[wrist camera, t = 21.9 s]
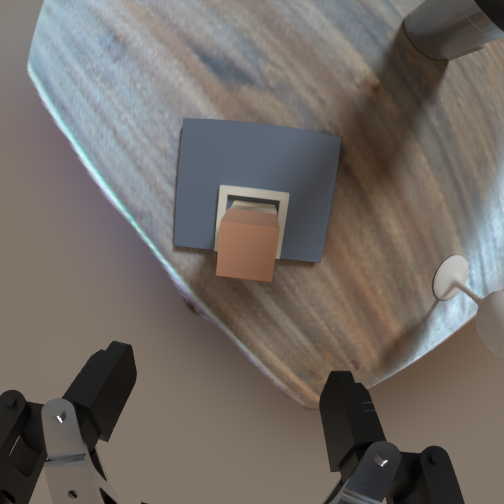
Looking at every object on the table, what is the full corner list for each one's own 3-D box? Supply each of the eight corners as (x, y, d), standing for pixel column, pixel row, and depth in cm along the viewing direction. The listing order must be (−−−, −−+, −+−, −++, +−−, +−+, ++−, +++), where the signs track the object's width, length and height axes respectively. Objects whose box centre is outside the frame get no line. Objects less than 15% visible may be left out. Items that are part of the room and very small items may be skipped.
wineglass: (434, 307, 40) (498, 381, 21) (430, 266, 38) (511, 336, 18) (467, 287, 39) (535, 348, 19) (466, 247, 36) (548, 301, 17)
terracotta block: (276, 213, 28) (280, 228, 23) (269, 258, 30) (271, 282, 24) (228, 208, 28) (220, 221, 23) (224, 253, 30) (216, 275, 24)
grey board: (338, 137, 32) (343, 136, 30) (318, 259, 38) (321, 265, 36) (186, 119, 32) (181, 117, 30) (177, 242, 38) (171, 247, 35)
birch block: (274, 204, 34) (277, 214, 28) (269, 242, 36) (270, 258, 30) (235, 199, 34) (229, 208, 28) (231, 237, 36) (225, 253, 30)
